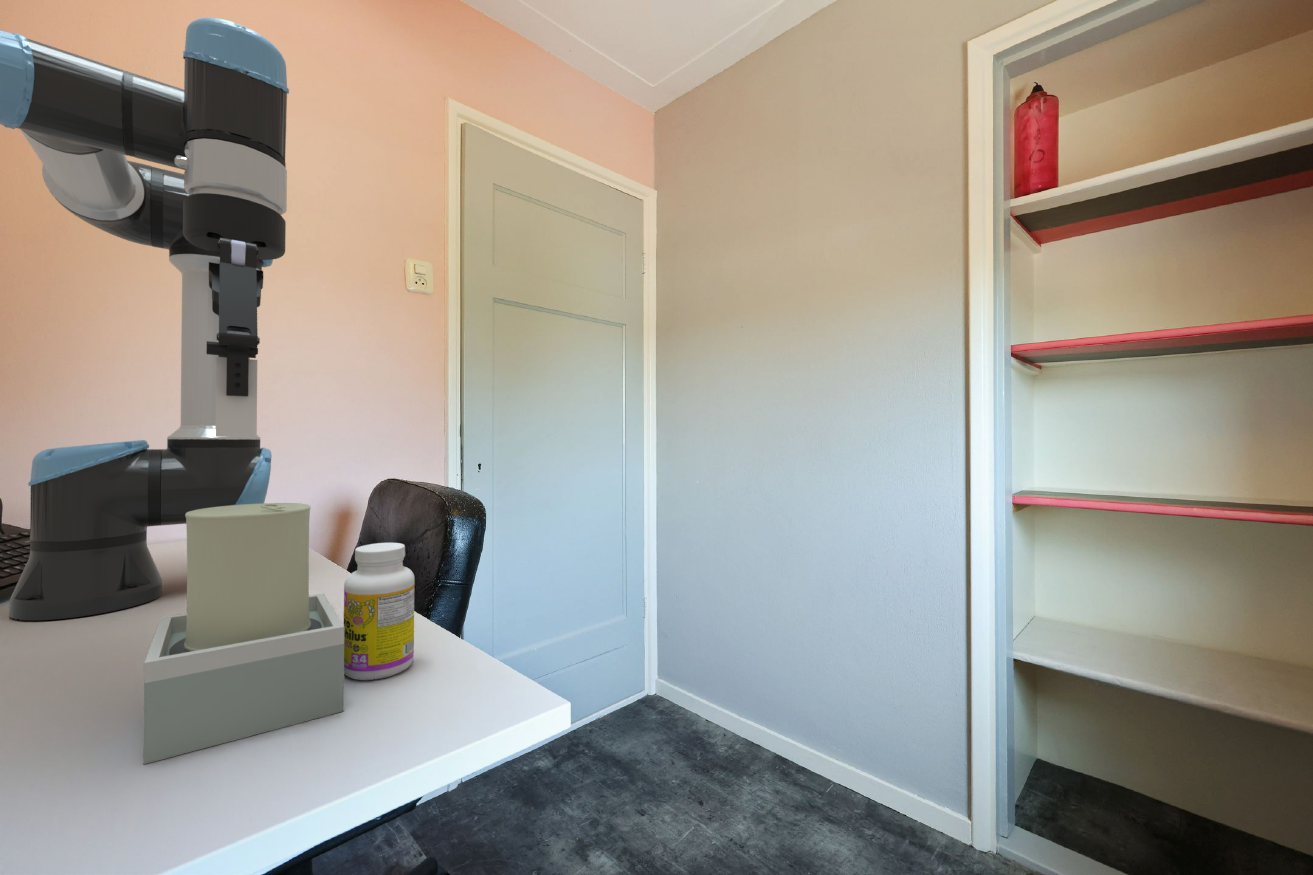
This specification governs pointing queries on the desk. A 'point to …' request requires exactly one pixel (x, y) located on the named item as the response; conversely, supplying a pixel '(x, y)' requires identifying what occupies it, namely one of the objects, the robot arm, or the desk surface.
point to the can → (246, 573)
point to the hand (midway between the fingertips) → (234, 436)
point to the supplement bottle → (378, 613)
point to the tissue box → (239, 684)
